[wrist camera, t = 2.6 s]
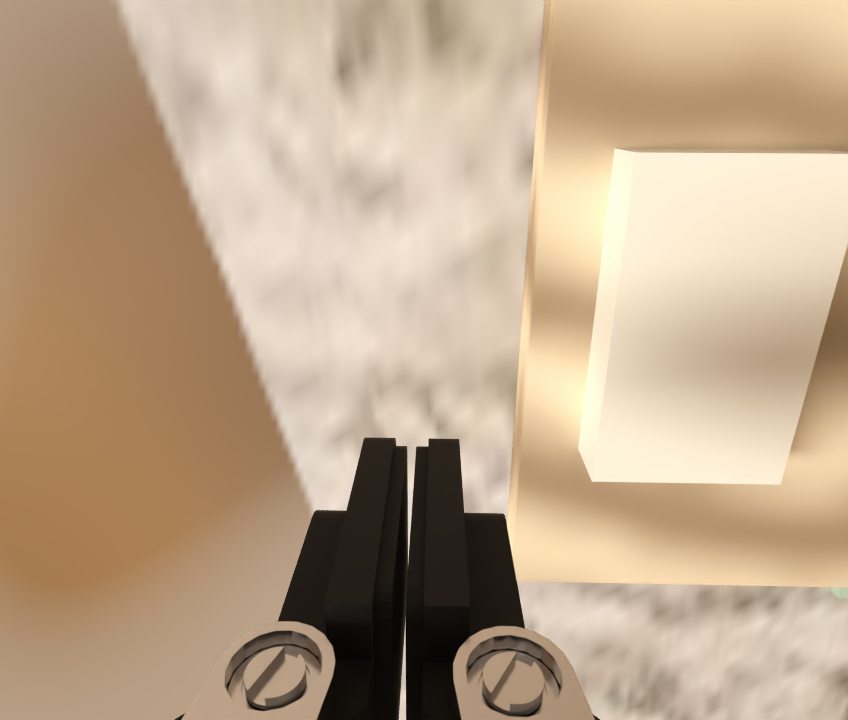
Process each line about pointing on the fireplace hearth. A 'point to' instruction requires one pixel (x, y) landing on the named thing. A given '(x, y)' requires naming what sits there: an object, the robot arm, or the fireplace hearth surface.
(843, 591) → the mat
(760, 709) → the fireplace hearth surface
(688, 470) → the cream rectangular block
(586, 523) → the wavy wooden board
